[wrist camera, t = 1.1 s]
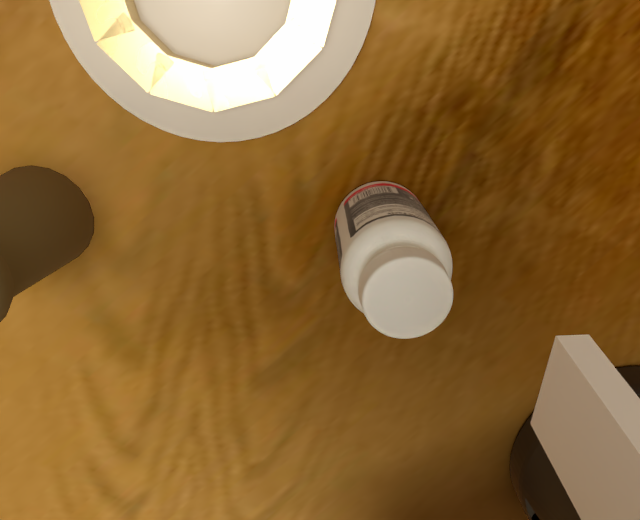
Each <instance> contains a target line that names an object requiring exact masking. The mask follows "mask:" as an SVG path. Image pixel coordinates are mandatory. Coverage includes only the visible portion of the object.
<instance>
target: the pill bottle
mask: <svg viewBox="0 0 640 520" xmlns="http://www.w3.org/2000/svg"><path fill="white" fill-rule="evenodd" d="M334 230H335V240H336V244H337V251H338V258H339V265H340V274H341V281H342V285H343V287H344V290H345V292H346V294H347V296H348V298H349V299H350V301H351V302H352V303H353V305H354V306H355V307H356V308H357V309H359V310H360V311H361V312H362V313H364V314H365V317H366V318H367V320H368V321H369V323H370V324H371V325H372V326H373V327H374V328H375V329H376V330H378V331H379V332H381V333H383V334H384V335H387V336H390V337H393V338H400V339H408V338H415V337H420V336H423V335H425V334H427V333H429V332H431V331H432V330H434V329H435V328H436V327H438V326H439V325H440V324H441V323H442V322H443V321H444V319H445V318H446V316H447V315H448V313H449V311H450V309H451V306H452V303H453V287H452V283H451V277H452V257H451V252H450V250H449V247H448V245H447V242H446V240H445V239H444V237H443V236H442V234H441V233H440V231H439V230H438V228H437V227H436V225H435V224H434V222H433V221H432V219H431V218H430V216H429V214H428V213H427V211H426V210H425V208H424V207H423V206H422V204H421V203H420V201H419V200H418V199H417V197H416V196H415V195H414V194H413V193H412V192H410V191H409V190H408V189H406V188H405V187H403V186H401V185H399V184H396V183H392V182H388V181H377V182H371V183H367V184H364V185H362V186H360V187H358V188H356V189H355V190H353V191H352V192H351V193H350V194H349V195H348V196H347V197H346V198H345V199H344V200H343V201H342V203H341V204H340V206H339V209H338V211H337V213H336V217H335V223H334Z"/></svg>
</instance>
